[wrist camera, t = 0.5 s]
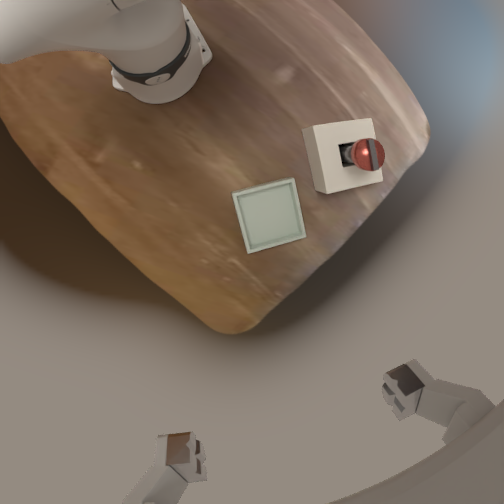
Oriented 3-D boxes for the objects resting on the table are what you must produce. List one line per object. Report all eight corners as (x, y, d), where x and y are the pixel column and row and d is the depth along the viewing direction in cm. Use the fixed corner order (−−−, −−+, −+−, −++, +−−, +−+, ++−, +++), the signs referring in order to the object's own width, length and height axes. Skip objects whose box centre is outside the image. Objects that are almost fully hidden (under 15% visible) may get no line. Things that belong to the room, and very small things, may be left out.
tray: (230, 192, 51) (232, 193, 48) (289, 177, 51) (294, 178, 49) (245, 248, 55) (248, 253, 52) (301, 233, 55) (306, 237, 52)
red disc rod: (321, 143, 50) (356, 140, 37) (345, 139, 51) (384, 136, 38) (327, 169, 52) (363, 174, 39) (350, 164, 52) (389, 168, 39)
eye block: (301, 129, 49) (312, 125, 43) (356, 121, 50) (371, 118, 44) (314, 190, 53) (327, 194, 47) (367, 178, 54) (383, 181, 48)
